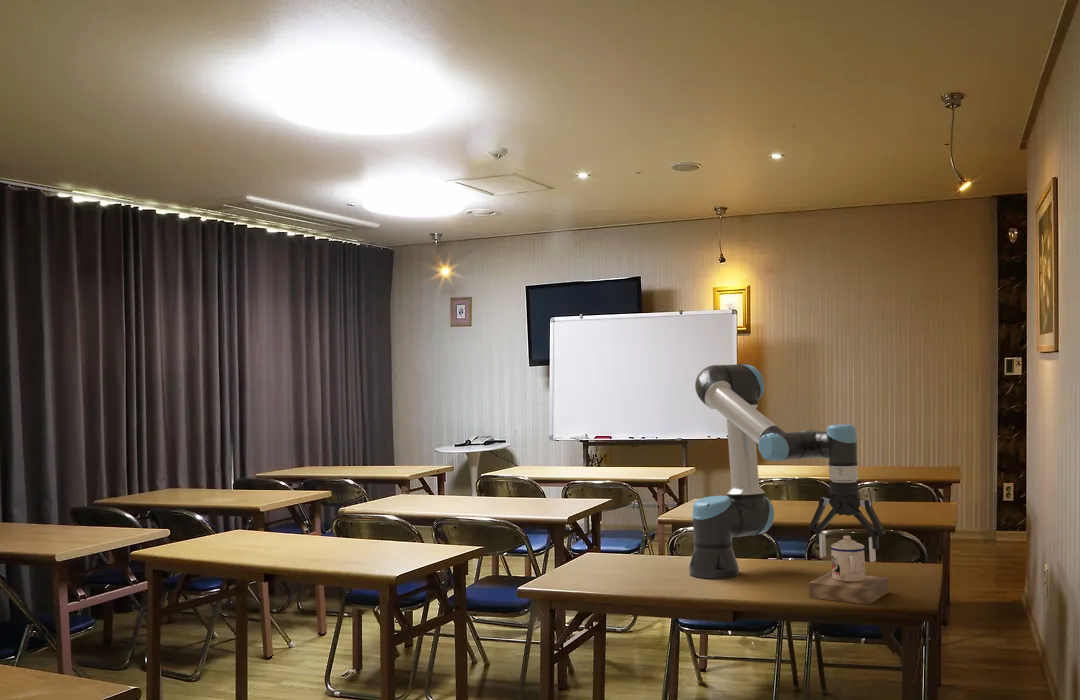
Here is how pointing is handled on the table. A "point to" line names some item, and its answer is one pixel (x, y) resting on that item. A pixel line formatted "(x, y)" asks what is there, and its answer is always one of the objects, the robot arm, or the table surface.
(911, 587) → the table surface
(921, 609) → the table surface
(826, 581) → the wooden square block
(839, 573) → the teacup with lid
